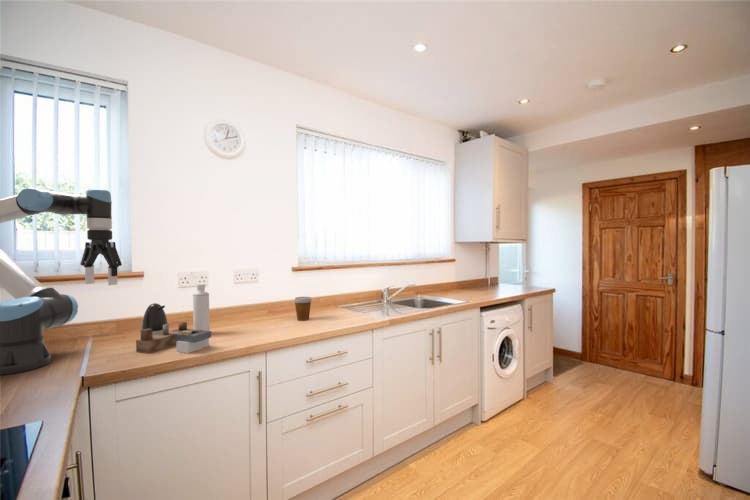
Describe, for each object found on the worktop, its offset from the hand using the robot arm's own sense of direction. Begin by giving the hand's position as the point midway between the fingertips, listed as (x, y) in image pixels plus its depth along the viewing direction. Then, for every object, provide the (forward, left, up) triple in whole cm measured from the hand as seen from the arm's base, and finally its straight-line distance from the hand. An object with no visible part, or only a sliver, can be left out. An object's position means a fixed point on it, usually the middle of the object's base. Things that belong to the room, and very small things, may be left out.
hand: (101, 284), depth 132 cm
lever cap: (+15, -30, -23) cm, 41 cm away
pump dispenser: (+23, +2, -27) cm, 35 cm away
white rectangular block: (+15, -30, -27) cm, 43 cm away
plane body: (+15, -15, -27) cm, 34 cm away
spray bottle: (+33, -15, -27) cm, 45 cm away
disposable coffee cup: (+74, -44, -27) cm, 90 cm away
